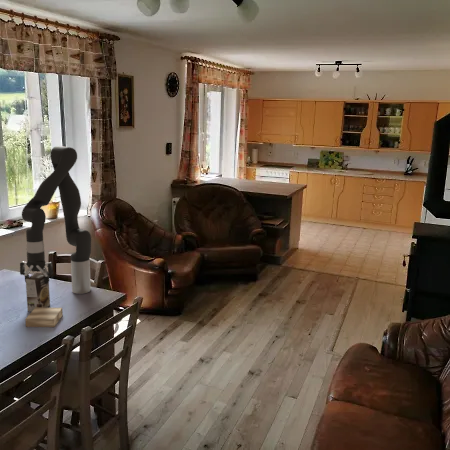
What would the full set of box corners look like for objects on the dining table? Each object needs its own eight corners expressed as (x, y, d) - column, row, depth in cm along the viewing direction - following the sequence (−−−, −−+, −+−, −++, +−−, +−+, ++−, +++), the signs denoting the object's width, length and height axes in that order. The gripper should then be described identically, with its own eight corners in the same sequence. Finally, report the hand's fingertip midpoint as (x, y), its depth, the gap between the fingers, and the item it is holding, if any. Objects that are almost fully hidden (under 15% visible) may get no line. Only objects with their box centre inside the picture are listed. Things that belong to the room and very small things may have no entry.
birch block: (36, 315, 205) (35, 307, 204) (62, 315, 206) (62, 307, 205) (26, 327, 193) (25, 319, 192) (54, 327, 194) (53, 319, 193)
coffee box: (39, 312, 207) (37, 280, 203) (27, 311, 208) (24, 278, 204) (50, 305, 215) (49, 273, 212) (38, 303, 217) (36, 272, 213)
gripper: (54, 248, 209) (55, 280, 213) (22, 247, 208) (24, 280, 212) (48, 252, 202) (50, 286, 205) (16, 251, 201) (18, 285, 205)
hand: (37, 283), depth 209 cm, fingers open, 8 cm apart
